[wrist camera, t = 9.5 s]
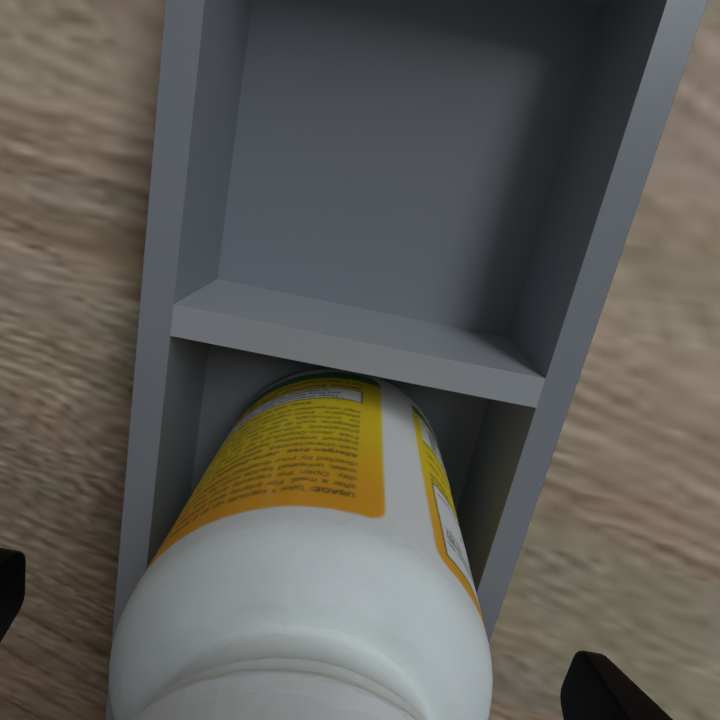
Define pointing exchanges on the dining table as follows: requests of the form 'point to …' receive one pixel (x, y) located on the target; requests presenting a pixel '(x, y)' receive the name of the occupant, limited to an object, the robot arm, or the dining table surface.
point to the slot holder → (390, 229)
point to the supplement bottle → (311, 573)
